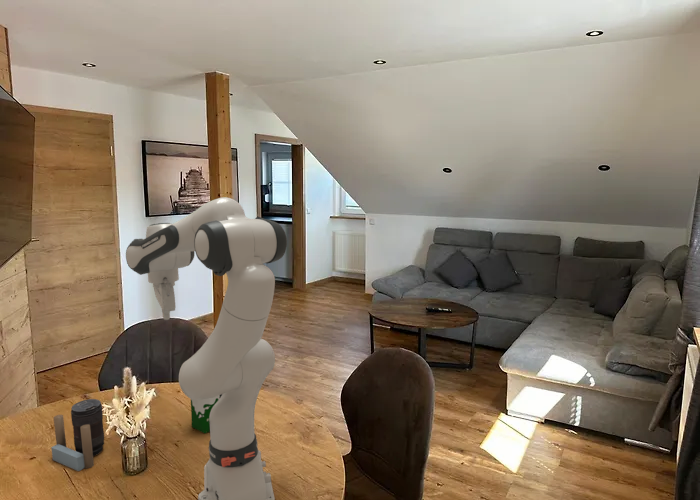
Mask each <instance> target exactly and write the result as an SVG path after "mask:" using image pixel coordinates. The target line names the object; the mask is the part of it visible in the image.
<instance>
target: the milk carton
mask: <svg viewBox="0 0 700 500" xmlns="http://www.w3.org/2000/svg"><path fill="white" fill-rule="evenodd" d="M219 399H220V395H218V396H216V397H213V398H207V399H201V400H192V399H190V413H191V428H193V429H195V430H197V431H198V432H200V433H203V434H208V433H210V421H209V416H210V412H211V409H212V408H213V406H214V405H215V404H216V402H217V401H218V400H219Z"/></svg>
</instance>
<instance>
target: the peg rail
mask: <svg viewBox="0 0 700 500" xmlns="http://www.w3.org/2000/svg"><path fill="white" fill-rule="evenodd" d="M53 423H54V424H53V425H54V433H55V443H56V444H55V445H53V446H51V447H50V448H51V457H52V458H51V459H52V461H55V462H56V463H59V464H60V465H63V466H66V467H67V468H70V469H71V470H75V471H76V472H80V471H81V470H83V469H91V468H92V467H94V465H95V463H94V456H93V451H92V441H91V430H90V425H89V424H86V425H83V426H81V427H80V429H81V439H82V449H83V454H82V453H79V452H77V451H76V450H75V449H72V448H69V447H68V446H67V441H66V439H67V438H66V431H65V430H66V429H65V421H64V415H63V414H57V415H55V416H53Z"/></svg>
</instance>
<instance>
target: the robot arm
mask: <svg viewBox="0 0 700 500" xmlns="http://www.w3.org/2000/svg"><path fill="white" fill-rule="evenodd" d="M145 232H146V234H145V238H134V239H133V240H132V241H131V242H130V243H129V244H128V246H127V247H126V250H125V259H126V264H127V265H128V268H130V270H132V271H133V272H135V273H136V274H138V275H145V274H147V280H148V283H150V284H152V287H153V289H154V295H155V298H156V300H157V302H158V305H159V306H160V308H161V312H162V319H163V320H164V321H168V320H171V315H170V314H171V312H174V311H176V297H175V295H176V294H175V289H174V286H176V283H175V282H177V281H179V279H180V277H179V275H180V274H179V269H181V268H185V267H188V266H190V265H191V263H192V262H193V260H194V259H195V255H196V257H197V259H198V260H199V262H201V264H202V265H203V266H205V268H207V269H209V270H211V271H212V272H213V274H214V275H216V276H218V277H223V276H224V275H226V277H227V288H226V291H225V294H224V298H223V301H222V304H221V310H220V312H219V315H218V318H217V321H216V324H215V327H214V329H213V331H212V332H210V335H209V336H208V338H207V339H206V341H205V342H204V343H203V344H202V346H201V347H200V348H199V349H198V350H197V351H196V352H194V354H193V355H192V356H191V357H189V358H188V359H187V360H185V361H183V363H182V364H181V367H180V369H179V371H178V372H179V373H178V384H179V387H180V390H181V391H182V392H183V394H184V395H185V396H186V397H187V398H189V399H190V400H191V399H192V400H201V399H207V398H213V397H216V396H218V395H221V394H222V396H221V398H220V399H219V400H218V401H217V402H216V404H215V405H214V406H213V408H212V409H211V412H210V416H209V421H210V432H209V436H210V440H209V442H208V452H209V453H208V454H209V459H208V461H207V462H206V464H205V465H204V468H203V472H204V473H203V477H204V478H203V481H204V482H203V483H204V484H203V485H204V486H203V487H204V489H203V490H202V491H201V492H199V494H198V495H197V496H198V498H197V500H275V499H276V498H275V494H274V490H273V484H272V476H271V472H266V471H264V469H263V468H265V467H267V466H266V465H267V463H266V461H265V460H262V450H259V448H258V439H257V435H256V433H255V412H256V411H255V409H256V403H257V400H258V396H259V393H260V391H261V388H262V386H263V384H264V382H265V380H266V378H267V377H268V376H269V375H270V374H271V372H272V371H273V369H274V367H275V363H276V354H275V352H274V349H273V347H272V345H271V344H270V343H269V342H268V341H267V340H265V339H263V338H262V337H263V336H264V335H263V334H264V331H265V329H266V327H267V326H266V325H267V321H268V320H269V316H270V313H271V308H272V305H273V299H274V296H275V295H274V294H275V286H276V283H275V282H276V279H275V278H276V277H275V274H274V273H273V271H272V270H271V269H270V268H269V266H267V265H268V264H271V263H274V262H277V261H279V260H281V259H282V258H283V256H285V254H286V250H287V246H288V238H287V234H286V231H285V229H284V228H283V227H282V225H281V224H280V223H278V222H276V221H273V220H270V219H266V218H263V217H260V216H256V217H255V218H249V217H247V216H246V213H245V210H244V209H243V206H242V205H241V204H240V203H239V202H238V201H237V200H235V199H234V198H230V197H225V196H224V197H219V198H215V199H213V200H210V201H208V202H206V203H205V204H203V205H201V206H199V208H197V209H195V210H194V211H193V212H191V213H189V214H188V215H186V216H184V217H183V218H181V219H179V220H178V221H176V222H173V223H170V222H159V223H153V224H150V225H148V226H147V227H146V231H145ZM266 264H267V265H266Z"/></svg>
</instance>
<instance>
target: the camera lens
mask: <svg viewBox="0 0 700 500" xmlns="http://www.w3.org/2000/svg"><path fill="white" fill-rule="evenodd" d="M70 417H71V425H72V429H73V443H74V444H73V445H74V448H75V449H74V451H77V452H79V453H82V454H83V449H82V439H81V429H80V427H81V426H83V425H86V424H89V425H90V430H91V441H92V451H93V457H95V456H98V455H99V454H101V453H102V452H103V450H104V447H103V446H104V445H105V431H104V422H103V419H104V415H103V405H102V403H101V401H100V399H96V398H89V399H83V400H81V401H78V402H76V403H75V404H73V405H72V406H71V411H70Z"/></svg>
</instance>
